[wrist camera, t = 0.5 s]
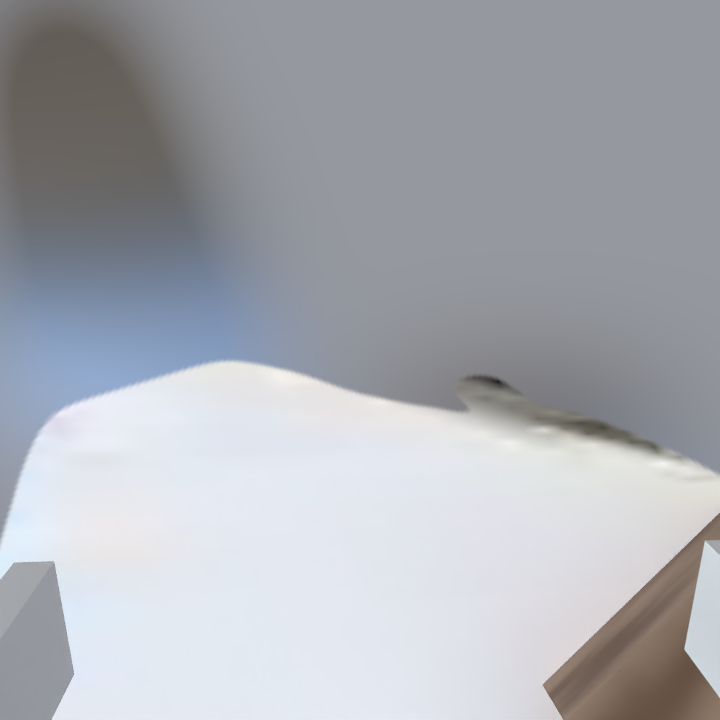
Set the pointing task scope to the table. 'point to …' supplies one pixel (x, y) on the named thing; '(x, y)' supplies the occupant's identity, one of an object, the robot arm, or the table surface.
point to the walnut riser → (643, 654)
